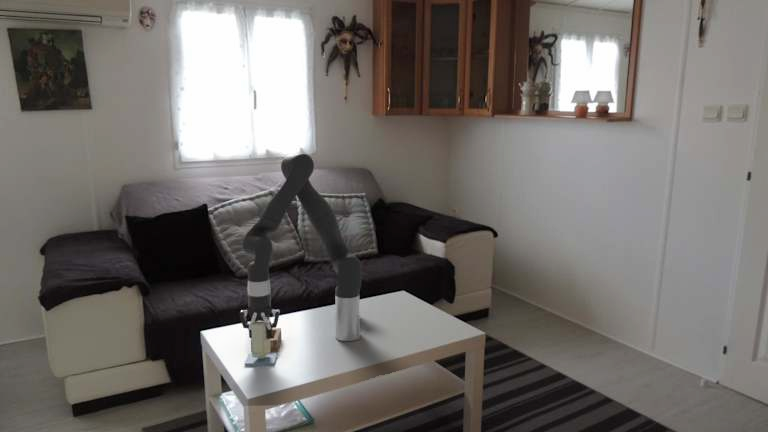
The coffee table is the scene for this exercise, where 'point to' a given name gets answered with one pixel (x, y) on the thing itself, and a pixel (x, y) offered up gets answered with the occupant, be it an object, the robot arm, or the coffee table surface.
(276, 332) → the pocket block
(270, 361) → the pad
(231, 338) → the coffee table surface
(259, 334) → the skincare box
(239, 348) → the coffee table surface
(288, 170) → the robot arm
